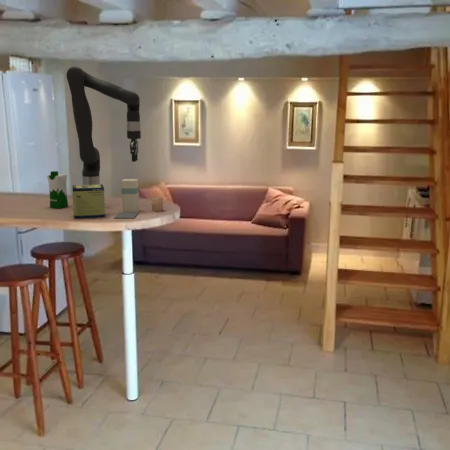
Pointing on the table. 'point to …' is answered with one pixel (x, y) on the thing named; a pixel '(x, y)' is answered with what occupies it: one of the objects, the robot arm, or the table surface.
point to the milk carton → (57, 190)
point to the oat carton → (130, 195)
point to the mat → (126, 215)
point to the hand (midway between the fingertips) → (134, 161)
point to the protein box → (88, 201)
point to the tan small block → (157, 204)
